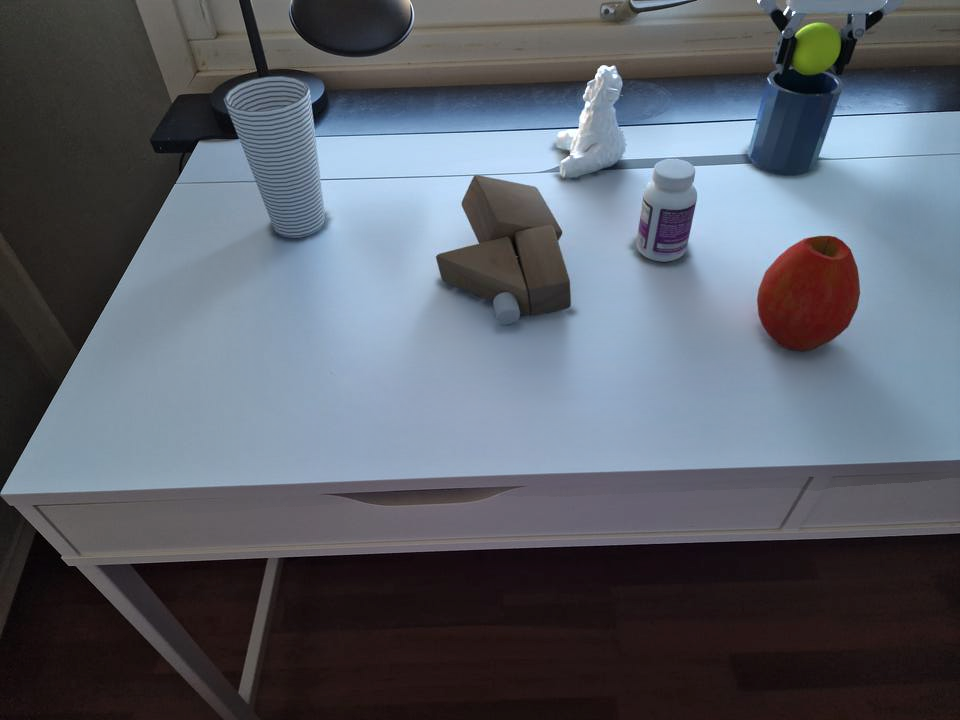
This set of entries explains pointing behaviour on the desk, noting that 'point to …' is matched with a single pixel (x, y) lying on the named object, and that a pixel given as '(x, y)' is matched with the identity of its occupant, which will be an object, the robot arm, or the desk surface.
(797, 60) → the ball
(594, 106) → the white creature statuette
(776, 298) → the apple
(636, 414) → the desk surface
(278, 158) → the cup
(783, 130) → the tube
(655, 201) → the pill bottle
